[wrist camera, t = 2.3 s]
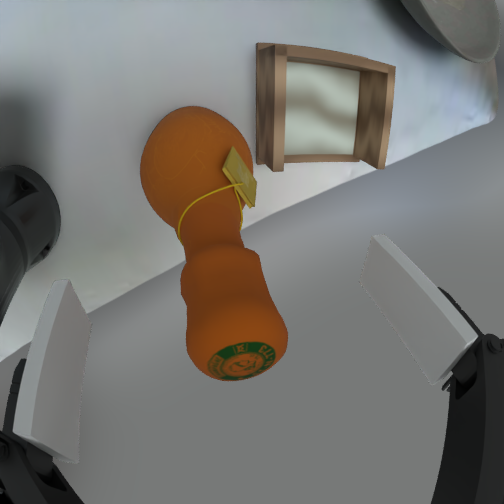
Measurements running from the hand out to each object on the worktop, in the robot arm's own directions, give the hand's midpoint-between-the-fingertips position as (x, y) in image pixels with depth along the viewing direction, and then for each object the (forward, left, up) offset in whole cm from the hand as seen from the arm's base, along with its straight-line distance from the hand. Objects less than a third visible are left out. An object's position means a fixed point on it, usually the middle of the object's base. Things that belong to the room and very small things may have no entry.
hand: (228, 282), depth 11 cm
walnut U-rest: (+16, +5, -26) cm, 31 cm away
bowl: (+35, +30, -26) cm, 53 cm away
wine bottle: (0, 0, -26) cm, 26 cm away
